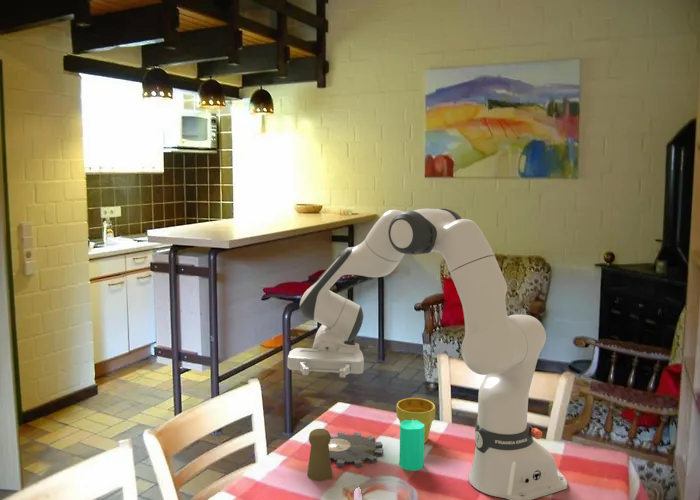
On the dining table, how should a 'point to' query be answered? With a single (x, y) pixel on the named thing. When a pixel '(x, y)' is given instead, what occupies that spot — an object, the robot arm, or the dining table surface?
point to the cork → (319, 455)
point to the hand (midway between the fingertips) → (323, 373)
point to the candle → (411, 445)
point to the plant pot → (417, 412)
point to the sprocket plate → (354, 449)
